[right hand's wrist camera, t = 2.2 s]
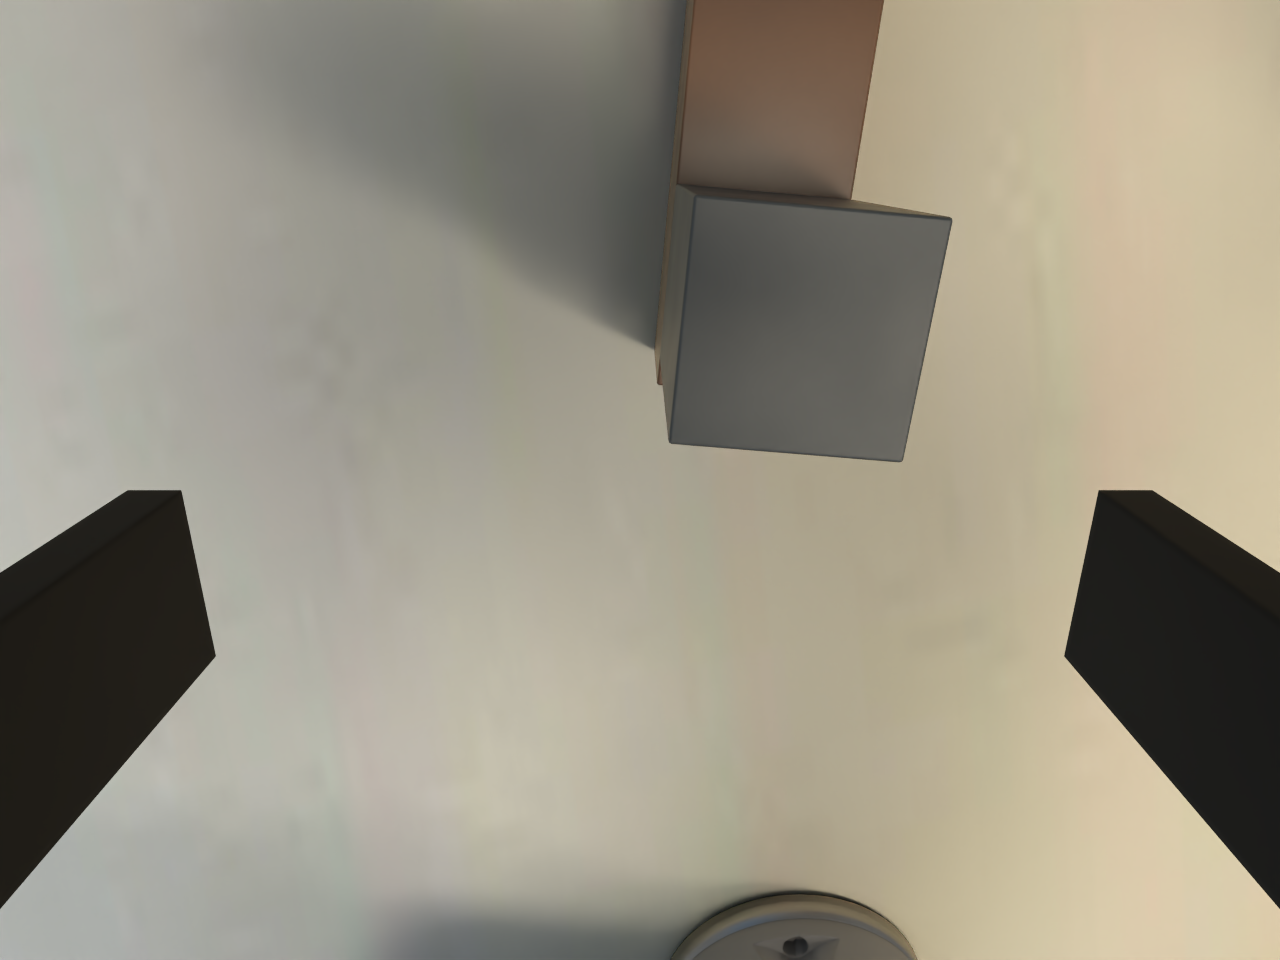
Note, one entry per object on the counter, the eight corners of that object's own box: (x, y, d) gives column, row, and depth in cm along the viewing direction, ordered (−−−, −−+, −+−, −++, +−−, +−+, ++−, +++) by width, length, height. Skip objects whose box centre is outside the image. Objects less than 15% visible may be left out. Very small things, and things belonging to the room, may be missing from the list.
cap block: (823, 372, 31) (903, 463, 21) (659, 358, 31) (668, 444, 21) (851, 199, 29) (954, 217, 19) (676, 183, 28) (694, 193, 19)
